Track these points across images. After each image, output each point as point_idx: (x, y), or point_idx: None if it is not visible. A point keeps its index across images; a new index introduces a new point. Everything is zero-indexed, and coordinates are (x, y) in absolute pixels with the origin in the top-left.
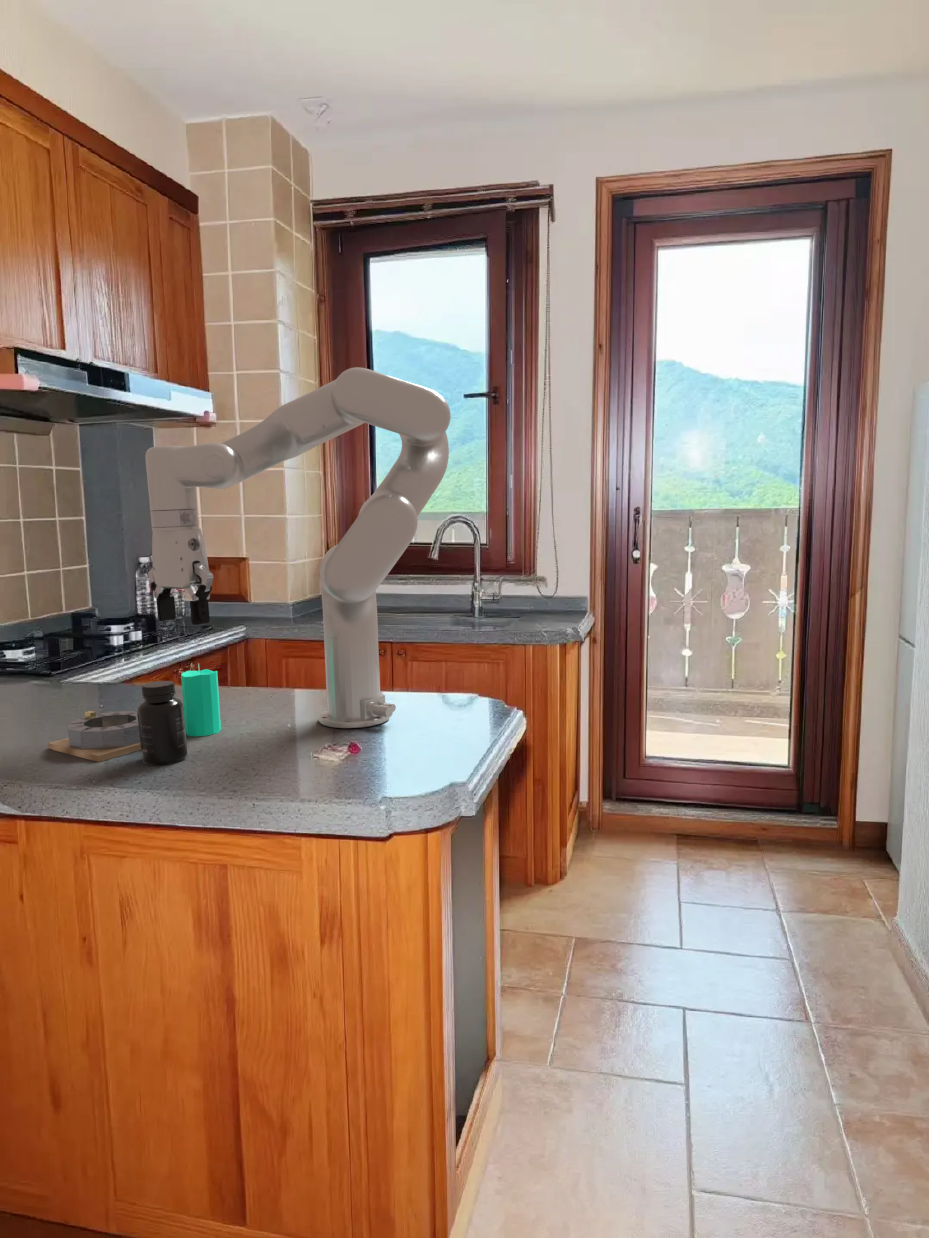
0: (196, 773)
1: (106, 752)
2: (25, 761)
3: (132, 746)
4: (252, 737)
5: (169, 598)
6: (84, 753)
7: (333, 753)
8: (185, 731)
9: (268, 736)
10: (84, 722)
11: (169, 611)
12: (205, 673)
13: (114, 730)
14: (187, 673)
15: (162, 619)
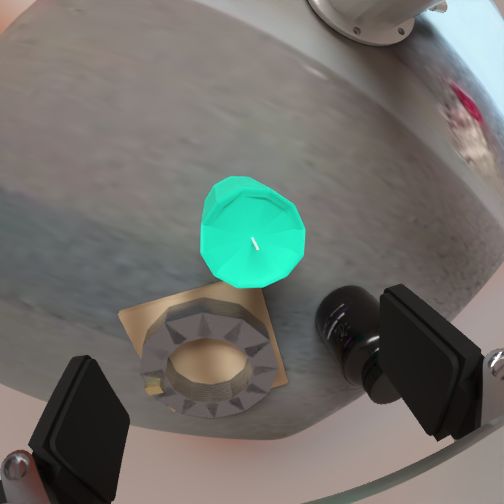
0: (420, 297)
1: (282, 374)
2: (215, 428)
3: (276, 342)
4: (341, 161)
5: (74, 466)
6: None
7: (470, 135)
8: (379, 303)
9: (355, 138)
10: (189, 398)
11: (99, 413)
12: (242, 215)
13: (273, 378)
14: (216, 261)
15: (128, 417)
